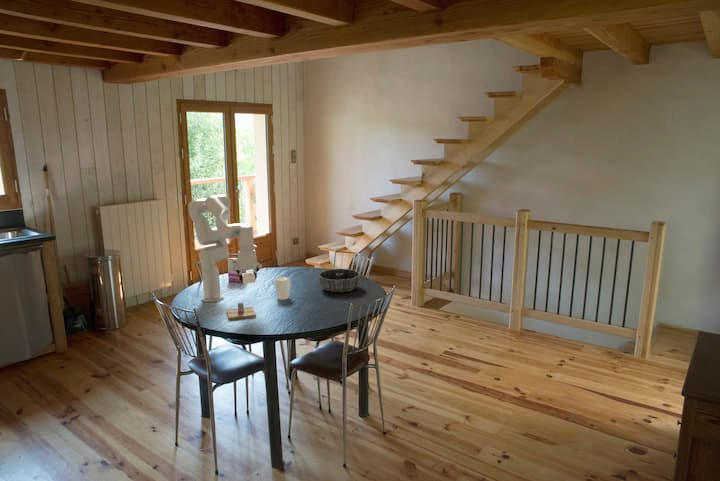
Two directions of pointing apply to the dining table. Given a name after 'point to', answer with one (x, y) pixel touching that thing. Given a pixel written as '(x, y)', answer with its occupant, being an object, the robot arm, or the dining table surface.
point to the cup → (282, 287)
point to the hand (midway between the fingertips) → (248, 280)
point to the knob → (248, 278)
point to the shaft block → (241, 312)
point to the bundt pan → (339, 280)
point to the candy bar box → (233, 271)
